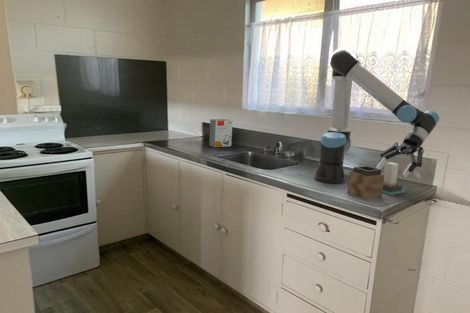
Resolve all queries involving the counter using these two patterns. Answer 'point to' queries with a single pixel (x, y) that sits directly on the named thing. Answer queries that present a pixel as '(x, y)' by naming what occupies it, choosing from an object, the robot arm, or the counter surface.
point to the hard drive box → (220, 132)
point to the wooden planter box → (366, 182)
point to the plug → (390, 174)
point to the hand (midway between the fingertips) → (390, 172)
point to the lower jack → (393, 189)
